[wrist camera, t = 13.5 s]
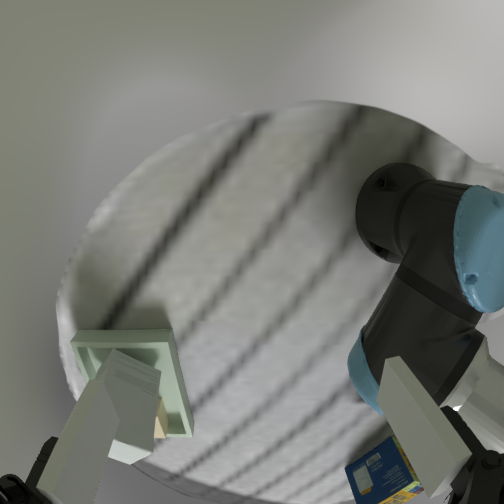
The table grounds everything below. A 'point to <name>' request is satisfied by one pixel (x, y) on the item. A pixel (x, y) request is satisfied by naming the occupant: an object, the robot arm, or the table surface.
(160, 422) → the tan rectangular block
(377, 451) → the protein box
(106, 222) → the table surface
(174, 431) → the green tray
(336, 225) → the table surface
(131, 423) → the supplement box
